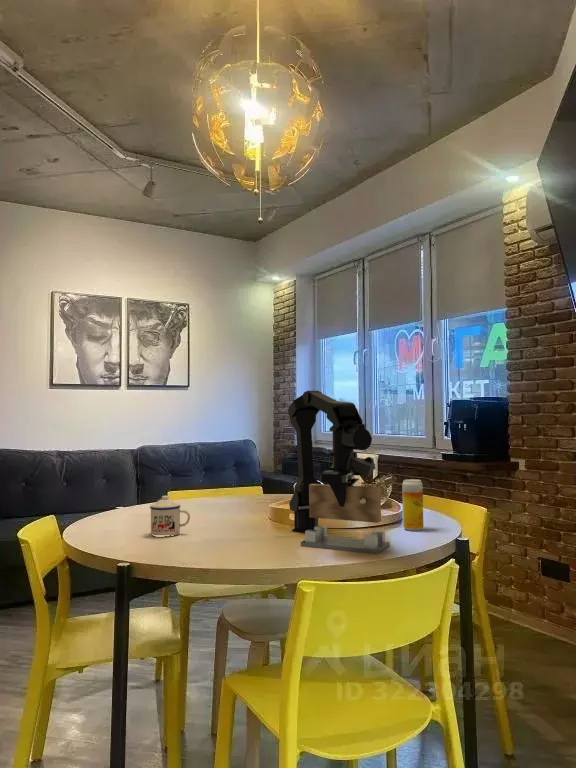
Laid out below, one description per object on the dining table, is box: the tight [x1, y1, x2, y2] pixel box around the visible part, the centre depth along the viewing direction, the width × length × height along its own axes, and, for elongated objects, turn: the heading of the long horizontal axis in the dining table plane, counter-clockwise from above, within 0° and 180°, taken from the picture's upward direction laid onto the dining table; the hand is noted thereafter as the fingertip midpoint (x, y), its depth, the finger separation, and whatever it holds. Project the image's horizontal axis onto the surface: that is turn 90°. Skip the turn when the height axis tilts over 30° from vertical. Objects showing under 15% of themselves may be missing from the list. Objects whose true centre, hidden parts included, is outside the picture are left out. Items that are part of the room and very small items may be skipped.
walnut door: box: [309, 483, 382, 524], centre depth 161 cm, size 20×3×9 cm, turn 63°
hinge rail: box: [300, 525, 391, 554], centre depth 161 cm, size 22×10×4 cm, turn 63°
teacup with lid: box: [149, 495, 191, 536], centre depth 179 cm, size 12×9×12 cm
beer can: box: [401, 478, 424, 532], centre depth 182 cm, size 6×6×15 cm
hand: (344, 505), depth 161 cm, fingers closed on walnut door, 2 cm apart
